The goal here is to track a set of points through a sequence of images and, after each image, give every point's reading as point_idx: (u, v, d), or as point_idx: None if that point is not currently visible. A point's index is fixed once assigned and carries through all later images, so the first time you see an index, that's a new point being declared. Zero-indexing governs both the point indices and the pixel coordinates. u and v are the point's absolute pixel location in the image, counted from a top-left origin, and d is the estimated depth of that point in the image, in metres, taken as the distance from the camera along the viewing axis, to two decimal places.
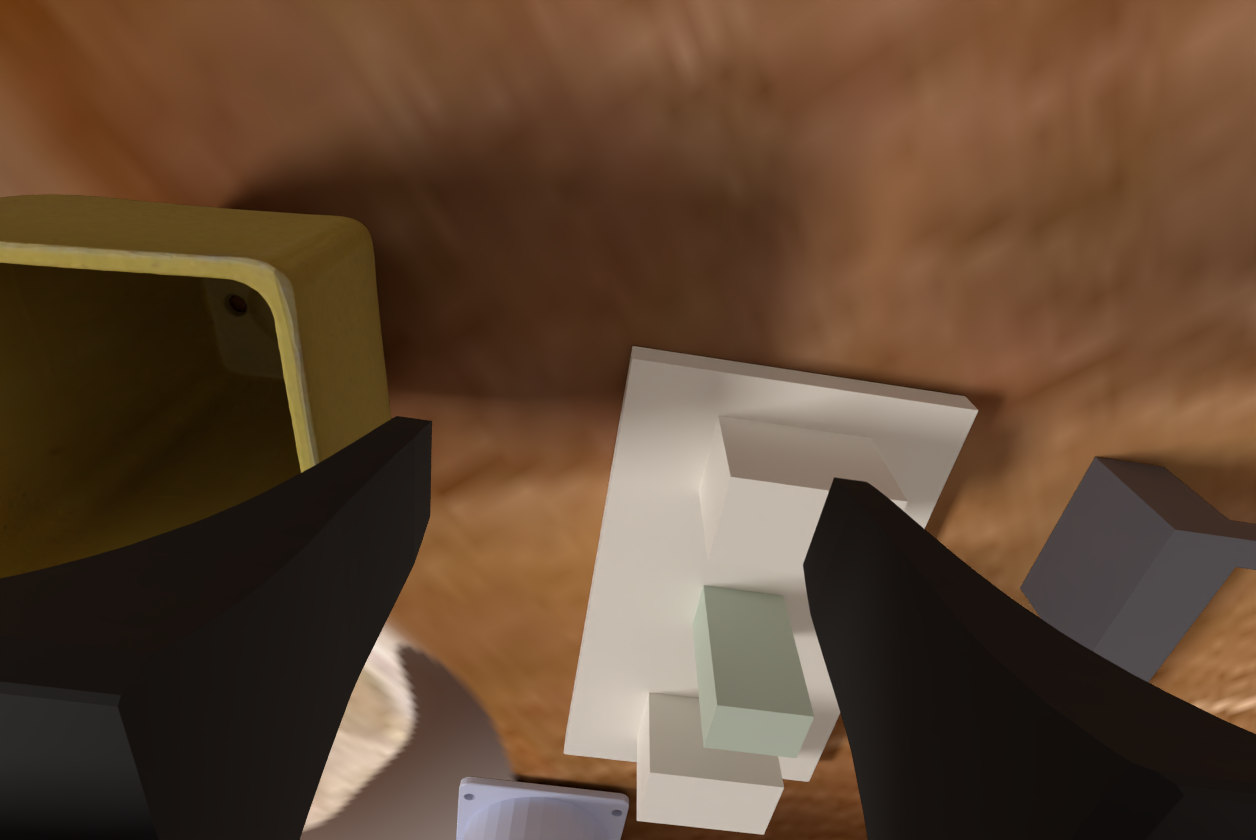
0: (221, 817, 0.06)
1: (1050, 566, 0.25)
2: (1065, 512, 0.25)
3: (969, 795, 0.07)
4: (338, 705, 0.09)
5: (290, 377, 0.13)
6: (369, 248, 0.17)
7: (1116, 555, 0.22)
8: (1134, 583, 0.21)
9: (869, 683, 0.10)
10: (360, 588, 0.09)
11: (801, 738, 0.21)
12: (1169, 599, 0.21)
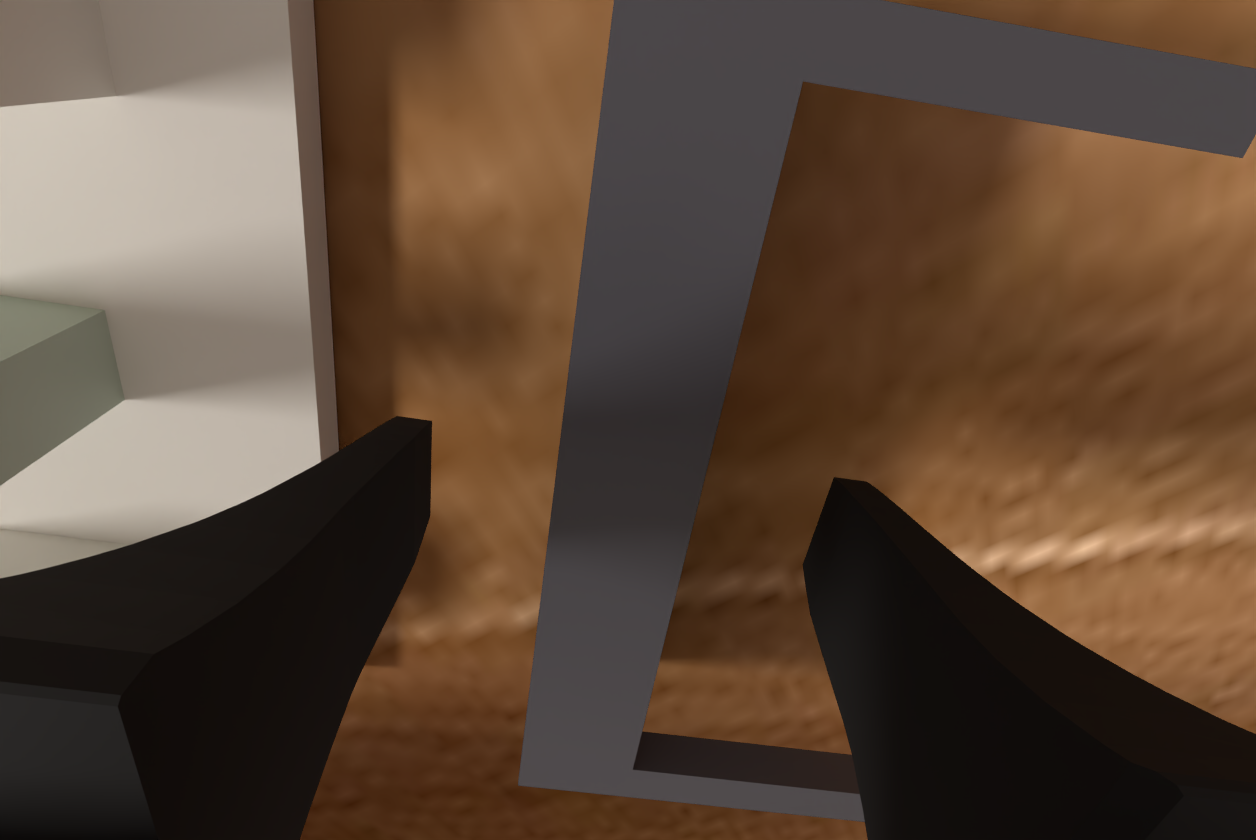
0: (221, 817, 0.06)
1: None
2: None
3: (969, 795, 0.07)
4: (338, 705, 0.09)
5: None
6: None
7: None
8: (596, 147, 0.09)
9: (869, 683, 0.10)
10: (360, 588, 0.09)
11: None
12: (685, 189, 0.09)
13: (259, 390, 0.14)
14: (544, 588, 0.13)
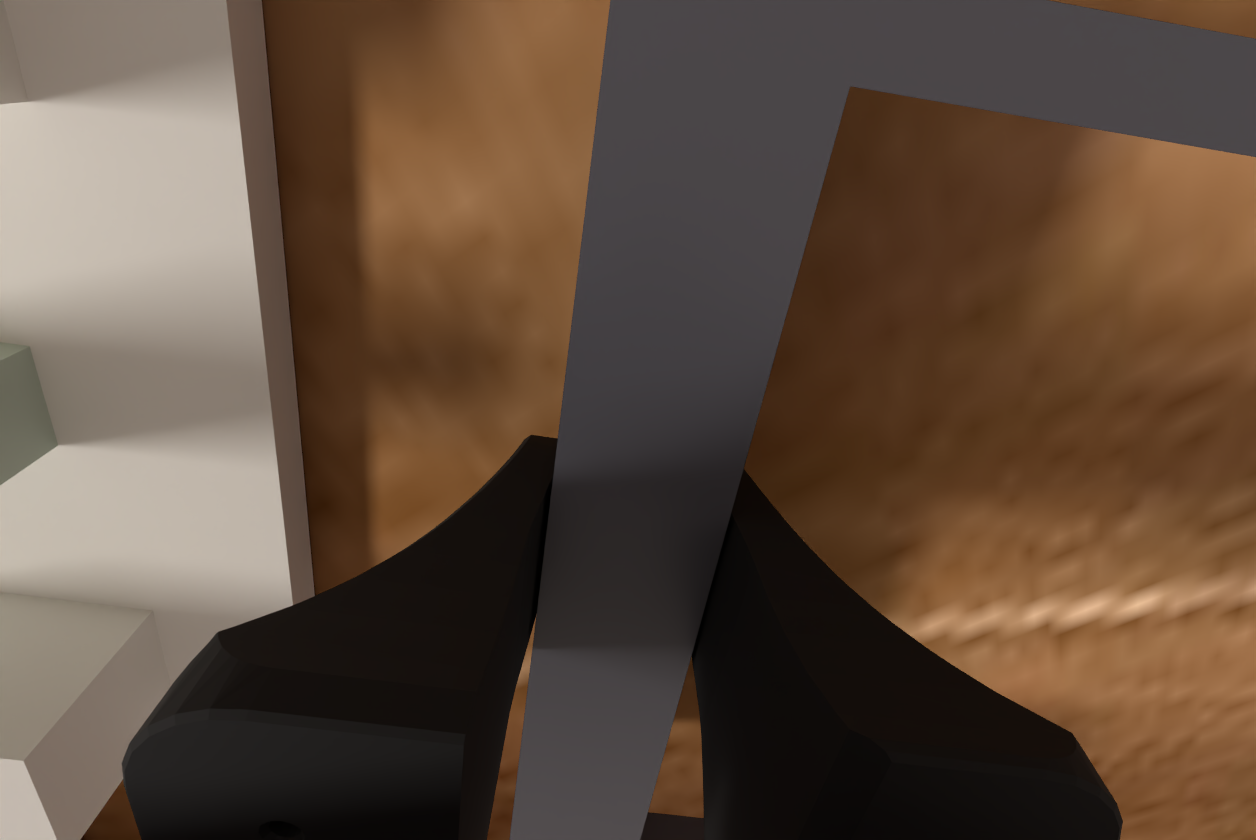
0: None
1: None
2: None
3: (760, 771, 0.07)
4: (505, 724, 0.09)
5: None
6: None
7: None
8: (591, 167, 0.07)
9: (715, 664, 0.10)
10: (524, 608, 0.10)
11: None
12: (701, 219, 0.08)
13: (210, 435, 0.13)
14: (532, 671, 0.11)
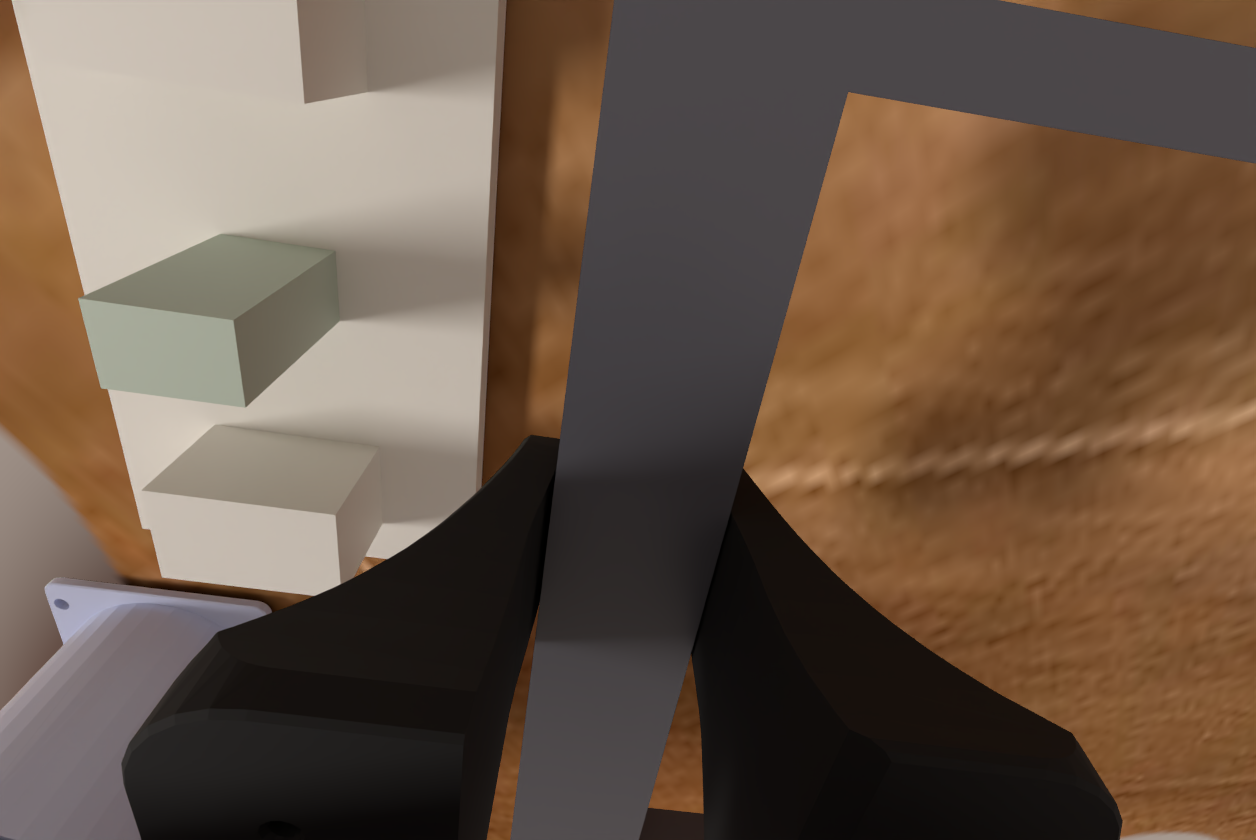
0: None
1: None
2: None
3: (760, 771, 0.07)
4: (505, 724, 0.09)
5: None
6: None
7: None
8: (593, 171, 0.08)
9: (715, 664, 0.10)
10: (524, 608, 0.10)
11: (234, 366, 0.14)
12: (701, 222, 0.08)
13: (442, 312, 0.19)
14: (534, 667, 0.11)
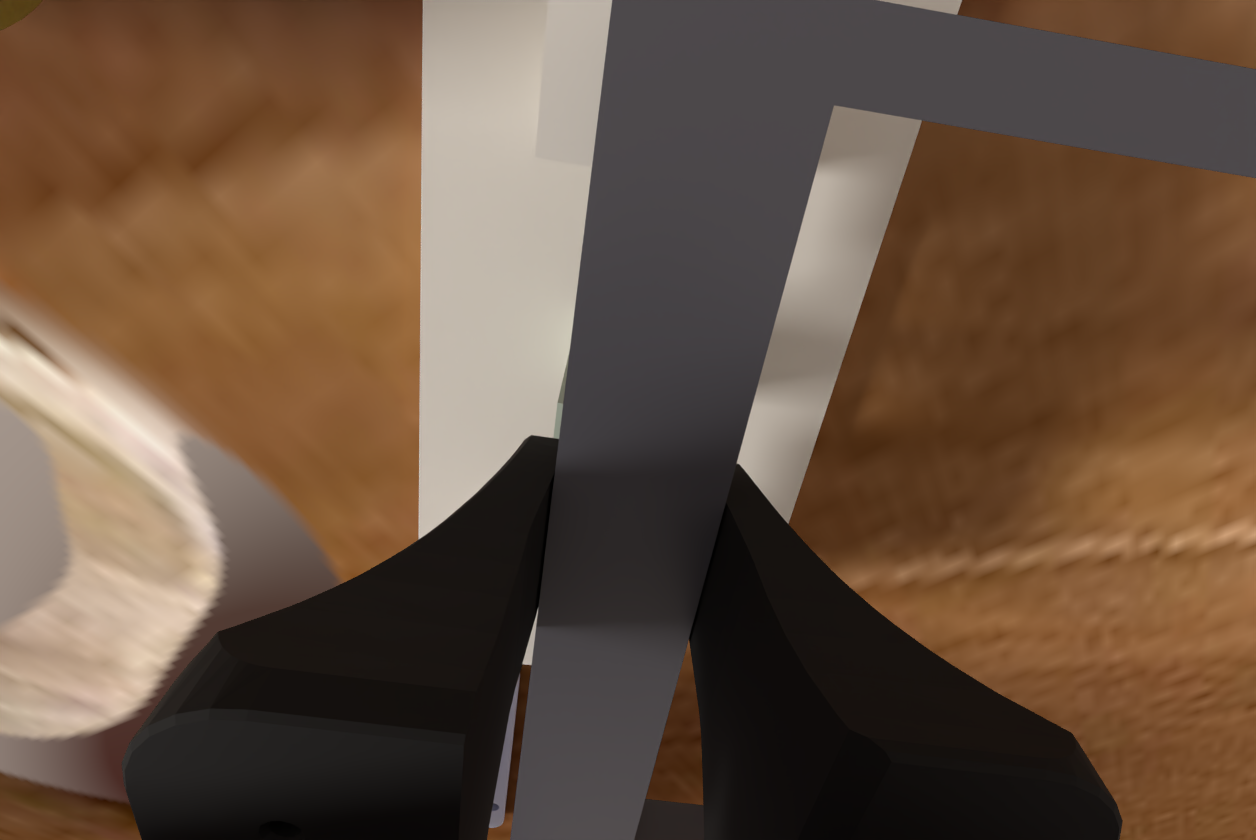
0: None
1: None
2: None
3: (760, 771, 0.07)
4: (505, 724, 0.09)
5: None
6: None
7: None
8: (590, 180, 0.08)
9: (715, 664, 0.10)
10: (525, 608, 0.10)
11: None
12: (695, 229, 0.08)
13: (789, 388, 0.18)
14: (534, 660, 0.12)
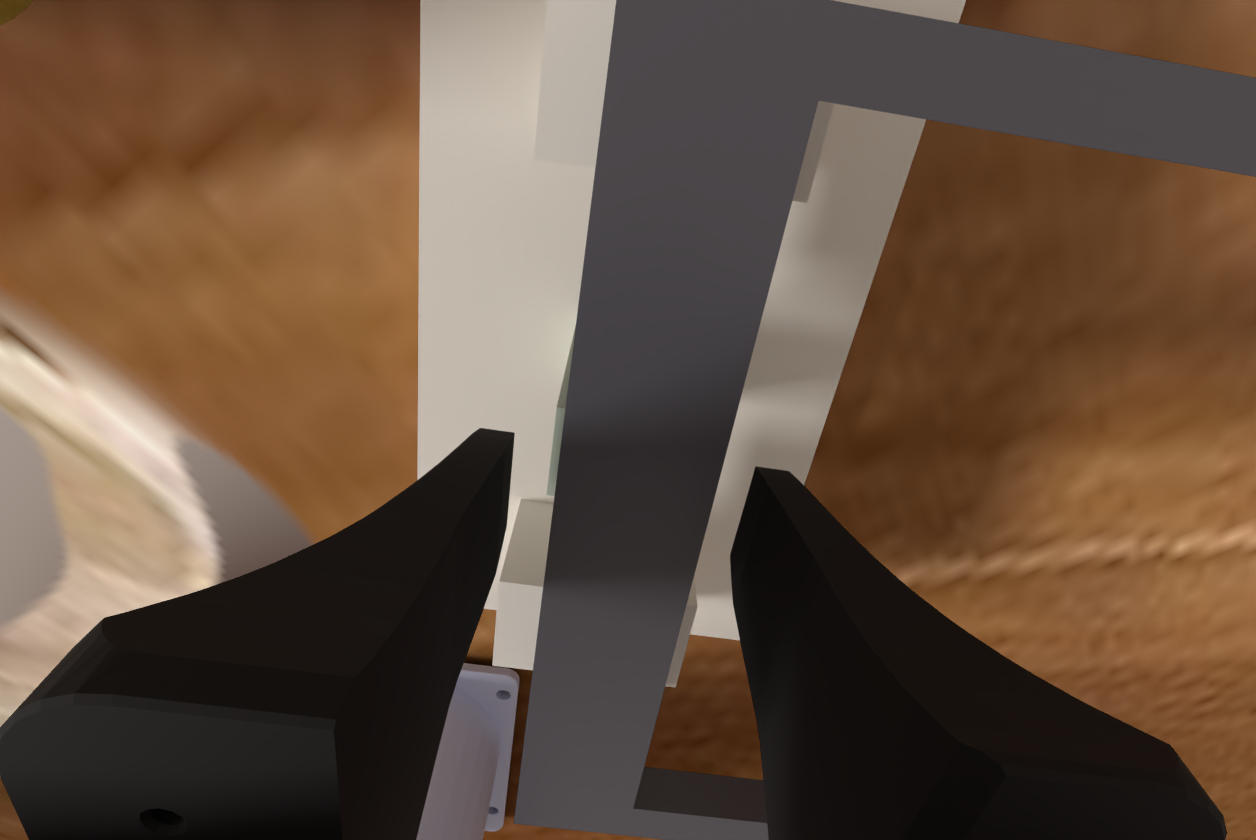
0: (376, 833, 0.06)
1: None
2: None
3: (842, 781, 0.07)
4: (442, 717, 0.09)
5: None
6: None
7: None
8: (596, 170, 0.09)
9: (774, 671, 0.10)
10: (462, 601, 0.10)
11: None
12: (690, 215, 0.09)
13: (790, 391, 0.18)
14: (540, 626, 0.12)
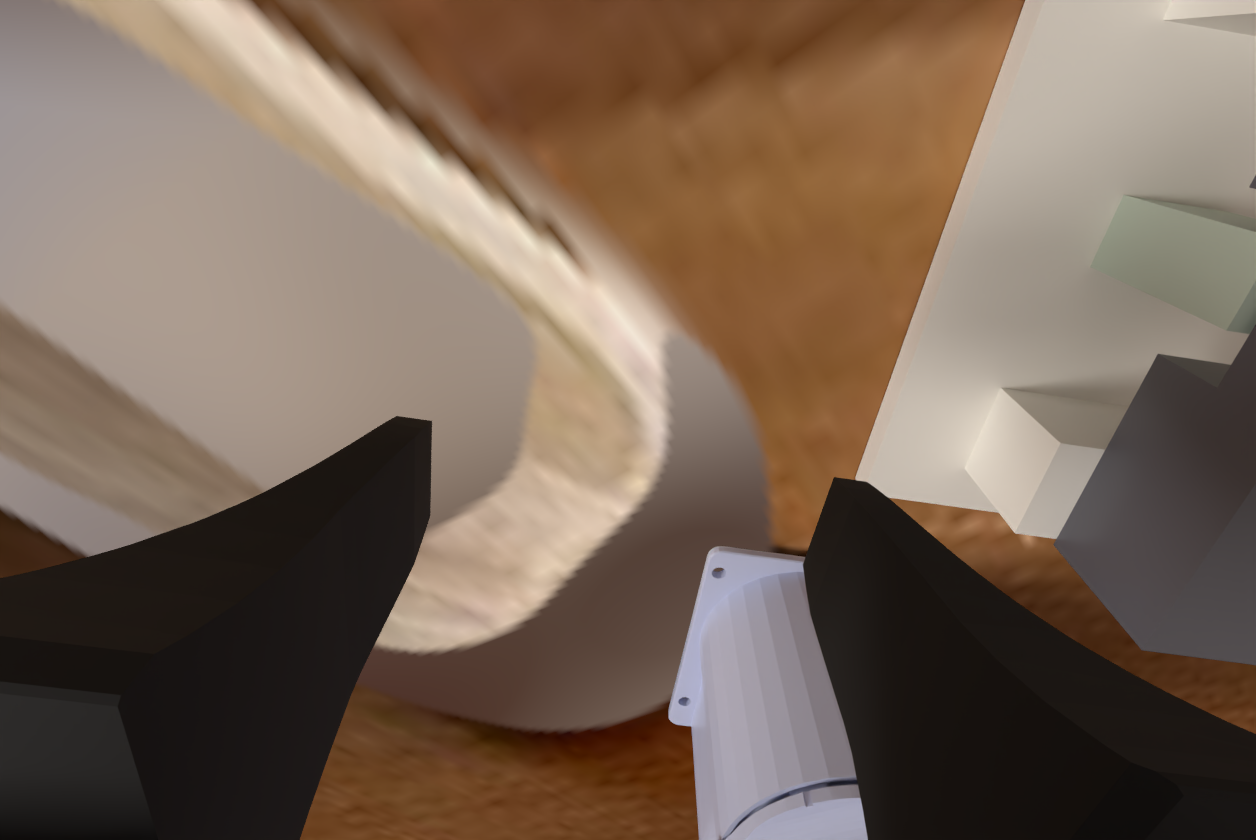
0: (221, 817, 0.06)
1: None
2: None
3: (969, 795, 0.07)
4: (338, 705, 0.09)
5: None
6: None
7: None
8: None
9: (869, 683, 0.10)
10: (360, 589, 0.09)
11: None
12: None
13: None
14: None
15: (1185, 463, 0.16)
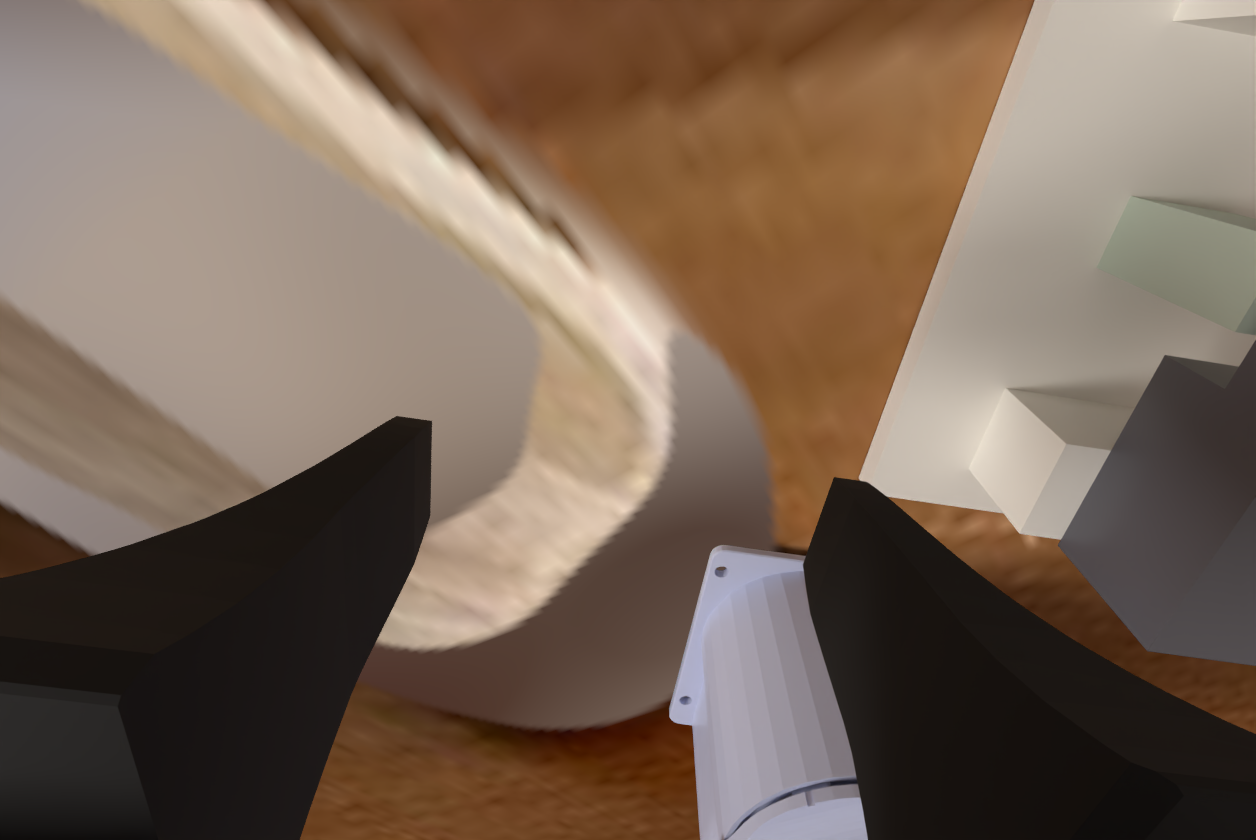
0: (221, 817, 0.06)
1: None
2: None
3: (969, 795, 0.07)
4: (338, 705, 0.09)
5: None
6: None
7: None
8: None
9: (869, 683, 0.10)
10: (360, 588, 0.09)
11: None
12: None
13: None
14: None
15: (1192, 464, 0.16)
